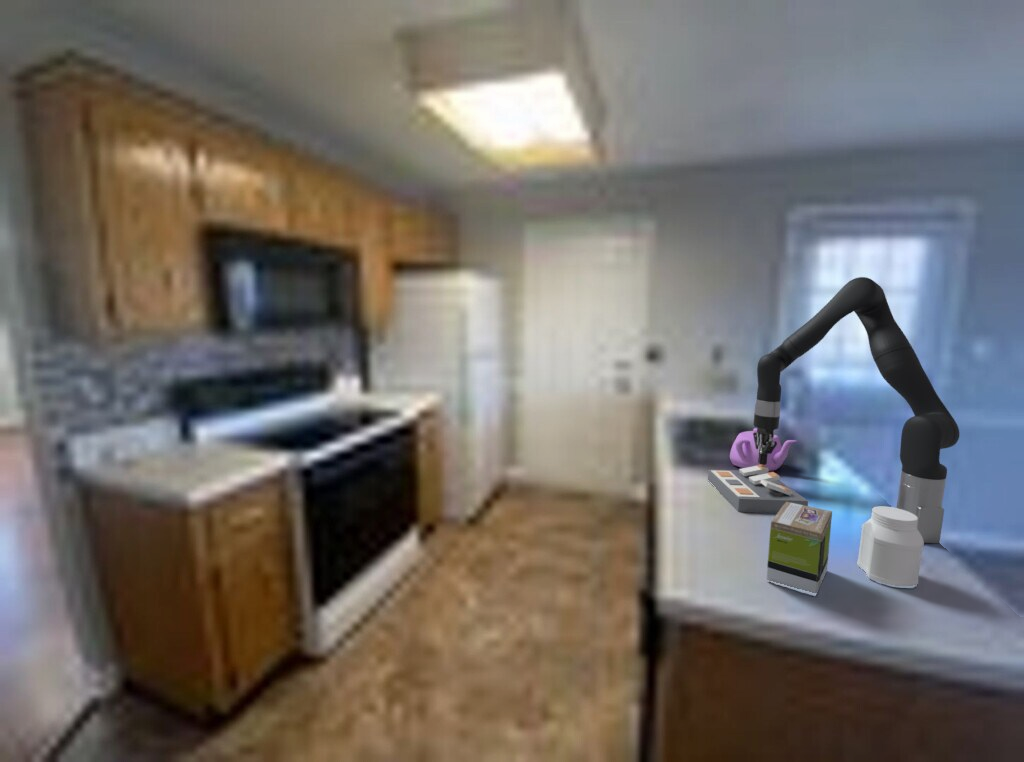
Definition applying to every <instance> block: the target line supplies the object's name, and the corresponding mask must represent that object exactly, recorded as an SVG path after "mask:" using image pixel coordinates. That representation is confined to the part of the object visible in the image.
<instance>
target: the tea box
mask: <svg viewBox="0 0 1024 762" xmlns="http://www.w3.org/2000/svg"><path fill="white" fill-rule="evenodd" d="M832 516H833V511H831V510H828V509H822V508H818V507H813V506H809V505H808V506H804V505H800V504H795V503H791V502H786V503H785V504H784V505H783V506H782V508H781V509H780V510H779V512H778V513H776V514H775V515H774V517H773V519H771V522H770V528H769V529H770V530H769V540H768V552H767V553H768V554H767V564H766V565H767V568H766V569H767V570H766V579H767V580H769V581H773V582H776V583H780V584H784V585H787V586H790V587H794V588H797V589H802V590H805V591H809V592H812V593H817V591H818V592H819V590H820V588H819V587H821V586H822V583H823V581H822V580H824V578H825V575H826V573H827V571H828V565H829V562H828V561H829V553H830V542H831V541H830V539H831V530H832V518H833V517H832ZM818 589H819V590H818ZM817 594H818V593H817Z"/></svg>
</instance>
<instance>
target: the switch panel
mask: <svg viewBox="0 0 1024 762" xmlns="http://www.w3.org/2000/svg"><path fill="white" fill-rule="evenodd" d="M766 473H770V471H769V472H764V473H759V474H754V475H749V476H743V475H742V474H741V473H740V471H739V469H738V470H735V469H734V470H732V469H708V472H707V481H708V480H709V481H710V482H711V483H712V484H713V485H714V486H715V487H716V489H717V490H718V491H719V492H720V493H721V494H722V495H723V496H724V497H725V498H724V497H723V496H722V495H721V494H720V493H719V492H718V491H717V490H716V489H715V490H716V491H717V492H718V493H719V494H720V495H721V496H722V497H723V498H724V499H725V500H726V501H727V502H728V503H729V504H730V505H731V506H732V507H733V508H734V509H735V510H736V511H737V512H741V513H742V512H743V513H768V514H769V513H770V514H777V513H778V512H779V510H780V509H781V508H782V506H783V505H784V504H785V503H786V502H791V503H795V504H800V505H804V506H809V501H808V499H806V498H805V497H803V496H802V495H801V494H799V493H798V492H797V491H795V490H794V489H792V488H791V487H789V486H788V485H787V484H786V483H784V482H782V481H781V479H780V480H776V481H771V482H772V483H775V484H777V485H782V486H785V487H787V488H788V489H789V490H791V492H792V494H791V496H790V495H787V494H784V493H781V492H779V491H776V490H773V489H770V488H767V487H765V486H764V485H763V484H756V485H754V484H753V483H752V482H751V481H749V477H751V476H756V475H761V474H766ZM709 481H708V482H709ZM710 482H709V483H710ZM711 483H710V484H711ZM712 484H711V485H712ZM713 485H712V486H713ZM714 486H713V487H714Z"/></svg>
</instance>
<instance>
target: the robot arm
mask: <svg viewBox="0 0 1024 762" xmlns="http://www.w3.org/2000/svg"><path fill="white" fill-rule="evenodd" d="M853 312H854V313H855V315H856V316H857V317H858V319H859V320H860V322H861V324H862V325H863V327H864V329H865V331H866V334H867V339H868V345H869V350H870V354H871V356H872V360H873V361H874V363H875V364H876V367H877V370H878V371H879V373H880V375H881V376H882V379H884V381H885V382H886V383H887V384H888V385H889V386H890V387H891V388H893V390H895V391H896V392H897V393H898V394H899V395H900V396H901V397H902V398H903V399H904V400H905V401H906V403H907V404H908V406H910V407H909V408H910V409H911V410H912V412H913V414H914V416H911V417H909V418H908V419H907V420H906V421H905V423H904V424H903V427H902V430H901V435H900V450H899V460H900V463H901V466H902V467H901V474H900V478H899V479H900V480H899V485H898V486H899V487H898V494H897V501H896V508H898V509H902V510H905V511H908V512H910V513H912V514H914V515H916V516H917V518H918V522H917V529H918V531H919V532H920V534H921V536H922V538H923V541H924V544H925V543H926V544H927V543H928V544H940V542H941V541H940V540H941V534H942V528H943V523H944V522H943V521H944V515H945V509H944V508H943V507H942V506H943V501H944V494H945V488H946V481H947V476H948V467H946V466H945V465H944V464H942V463H941V462H940V456H941V455H940V454H941V450H945V449H948V448H952V447H954V446H955V445H956V444H957V442H958V441H959V439H960V429H959V425H958V424H957V422H956V421H955V418H954V417H953V416H952V414H951V413H950V411H949V410H948V409H947V407H946V405H945V404H944V402H943V401H942V400H941V398H940V397H939V395H938V394H937V392H936V390H935V389H934V387H933V385H932V382H931V381H930V379H929V378H928V375H927V374H926V372H925V370H924V368H923V365H922V363H921V362H920V359H919V357H918V356H917V354H916V352H915V350H914V348H913V346H912V344H911V343H910V341H909V339H908V338H907V336H906V334H905V333H904V332H903V330H902V329H901V328H900V326H899V324H898V323H897V322H896V319H895V318H894V316H893V313H892V310H891V308H890V304H889V303H888V300H887V296H886V294H885V292H884V289H883V288H882V286H881V285H879V283H877V282H876V281H874V280H873V279H871V278H869V277H865V276H859V277H855V278H853V279H850V280H849V281H848V282H847V283H846V284H845V285H843V286H842V287H841V288H840V289H839V291H838V292H836V294H834V296H833V297H832V298H831V299H830V300H829V301H828V302H827V303H826V304H825V305H824V306H823V307H822V308H821V309H820V310H819V311H818V312H817V313H816V314H815V315H813V317H811V318H810V319H809V320H808V321H806V323H805V324H803V325H802V326H800V327H799V328H798V329H797V330H795V331H794V332H793V333H791V334H790V335H789V336H787V338H786V339H784V340H783V342H782V343H781V344H780V345H779V346H778V347H776V348H774V350H772V351H770V353H767V354H765V355H763V356H761V357H760V358H759V360H758V362H757V368H756V370H757V371H756V373H757V374H756V375H757V384H758V385H757V391H756V400H755V404H754V405H755V406H754V413H753V424H752V425H753V426H754V427H755V428H757V432H756V433H753V436H754V441H755V446H756V449H758V452H759V458H758V463H759V464H761V465H766V464H767V455H768V454H771V453H772V452H773V450H774V448H775V447H776V445H777V442H776V441H773V437H774V435H775V434H774V431H775V430H778V429H779V426H780V415H781V414H780V413H781V399H782V385H781V384H780V381H781V373H782V372H783V371H784V370H786V369H787V368H788V367H789V366H790V365H792V364H793V363H794V362H795V361H796V360H797V359H798V358H801V357H802V356H803V355H805V354H807V352H809V351H810V350H812V349H814V347H815V346H817V345H818V344H819V343H820V342H821V341H822V340H823V339H824V338H825V337H826V336H827V334H828V333H829V332H830V331H831V329H832V328H833V327H835V325H837V323H839V322H840V321H841V320H843V319H844V318H845V317H847V316H848V315H849V314H851V313H853Z"/></svg>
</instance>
